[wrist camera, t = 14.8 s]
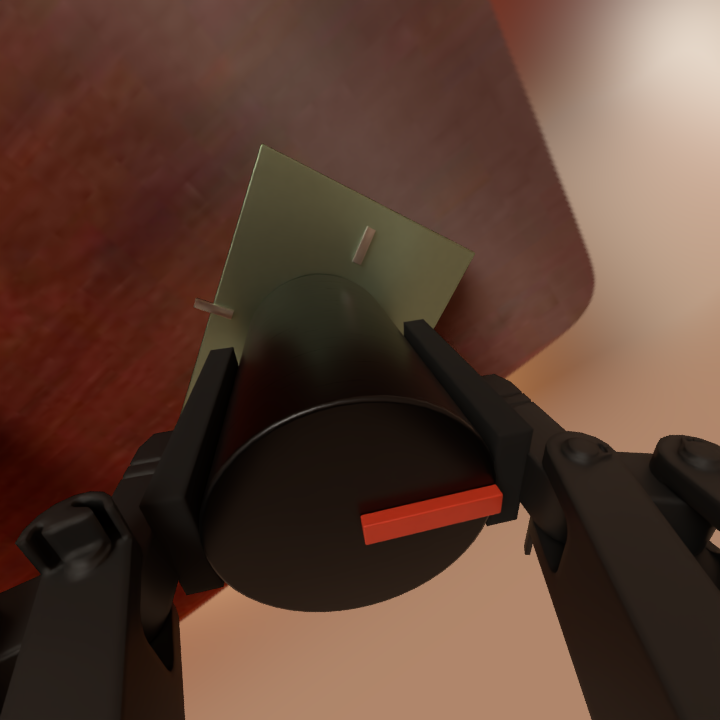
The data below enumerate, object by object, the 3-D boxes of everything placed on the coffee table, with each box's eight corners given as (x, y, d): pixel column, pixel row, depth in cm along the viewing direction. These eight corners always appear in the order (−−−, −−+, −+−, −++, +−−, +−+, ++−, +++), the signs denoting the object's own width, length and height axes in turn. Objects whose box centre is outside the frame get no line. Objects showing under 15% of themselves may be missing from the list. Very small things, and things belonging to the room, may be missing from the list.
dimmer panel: (251, 142, 14) (242, 132, 11) (456, 247, 17) (489, 259, 15) (179, 389, 18) (159, 427, 15) (357, 435, 21) (368, 472, 19)
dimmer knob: (265, 414, 16) (243, 655, 8) (229, 286, 13) (136, 452, 5) (392, 390, 17) (494, 588, 8) (384, 263, 14) (521, 377, 6)
